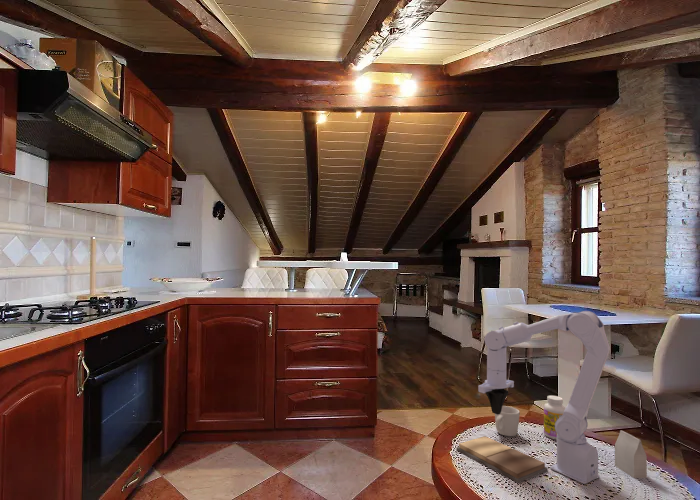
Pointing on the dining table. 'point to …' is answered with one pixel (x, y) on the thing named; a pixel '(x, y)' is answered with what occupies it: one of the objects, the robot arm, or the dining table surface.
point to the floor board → (511, 464)
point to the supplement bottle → (552, 415)
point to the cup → (507, 421)
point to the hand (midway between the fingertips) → (496, 413)
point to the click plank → (483, 447)
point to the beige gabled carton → (630, 455)
